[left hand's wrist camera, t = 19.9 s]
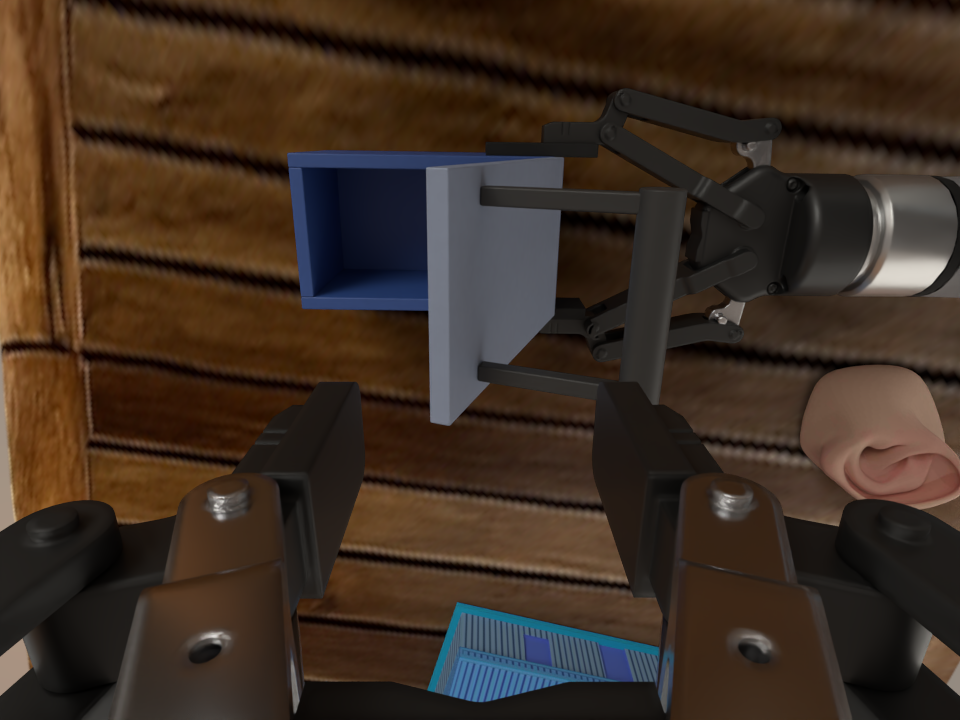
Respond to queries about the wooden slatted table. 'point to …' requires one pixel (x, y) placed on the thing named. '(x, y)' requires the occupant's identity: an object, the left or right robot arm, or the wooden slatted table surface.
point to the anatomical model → (880, 436)
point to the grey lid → (532, 277)
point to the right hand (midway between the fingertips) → (484, 232)
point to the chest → (365, 226)
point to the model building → (530, 656)
